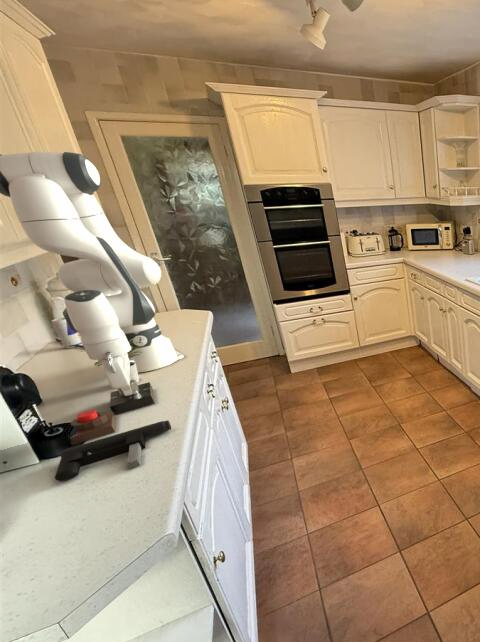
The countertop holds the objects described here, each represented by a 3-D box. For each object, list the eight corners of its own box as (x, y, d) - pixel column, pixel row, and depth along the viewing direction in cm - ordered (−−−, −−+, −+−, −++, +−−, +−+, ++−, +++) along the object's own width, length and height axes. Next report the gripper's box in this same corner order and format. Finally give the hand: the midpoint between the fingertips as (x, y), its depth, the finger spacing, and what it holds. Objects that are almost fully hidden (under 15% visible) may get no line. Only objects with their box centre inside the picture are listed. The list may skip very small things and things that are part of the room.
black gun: (168, 446, 93) (167, 415, 104) (45, 486, 81) (59, 446, 93) (173, 457, 94) (172, 425, 105) (54, 497, 83) (66, 457, 94)
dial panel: (115, 400, 120) (110, 391, 119) (153, 390, 125) (149, 381, 124) (114, 415, 112) (109, 406, 110) (154, 404, 117) (150, 394, 116)
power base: (76, 429, 106) (68, 416, 104) (116, 417, 110) (109, 405, 109) (72, 445, 99) (64, 432, 97) (115, 432, 104) (108, 419, 102)
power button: (80, 419, 103) (77, 413, 103) (99, 414, 106) (96, 408, 105) (78, 424, 101) (75, 419, 100) (98, 419, 103) (95, 413, 102)
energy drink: (86, 343, 168) (73, 317, 163) (72, 348, 163) (58, 321, 158) (75, 343, 168) (61, 317, 164) (61, 348, 163) (46, 321, 159)
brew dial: (120, 393, 117) (115, 382, 116) (140, 388, 120) (134, 377, 119) (120, 398, 114) (114, 387, 113) (140, 393, 117) (135, 382, 116)
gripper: (123, 355, 106) (143, 399, 112) (124, 336, 120) (142, 376, 126) (90, 362, 102) (113, 407, 108) (95, 342, 116) (115, 383, 122)
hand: (129, 390), depth 117 cm, fingers closed on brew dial, 4 cm apart
